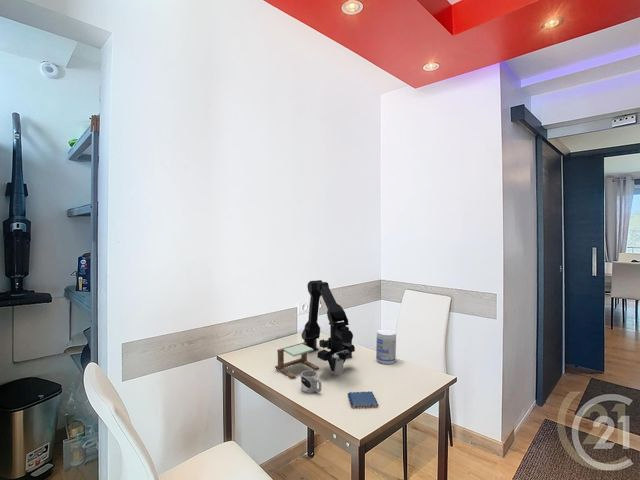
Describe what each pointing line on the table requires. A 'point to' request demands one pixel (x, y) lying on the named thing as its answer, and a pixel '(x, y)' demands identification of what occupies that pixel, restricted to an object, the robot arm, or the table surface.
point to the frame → (292, 362)
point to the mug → (310, 382)
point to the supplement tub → (386, 346)
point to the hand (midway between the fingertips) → (336, 369)
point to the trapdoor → (298, 350)
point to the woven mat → (362, 399)
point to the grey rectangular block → (338, 367)
